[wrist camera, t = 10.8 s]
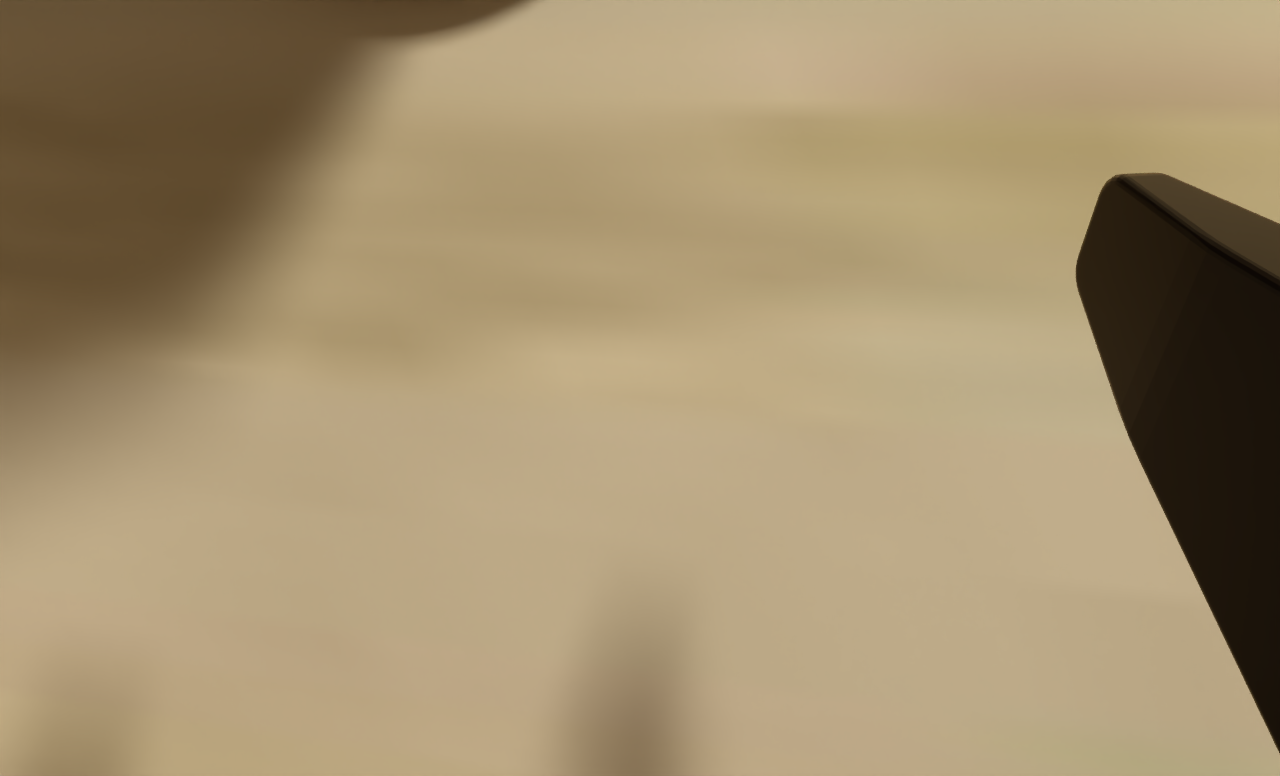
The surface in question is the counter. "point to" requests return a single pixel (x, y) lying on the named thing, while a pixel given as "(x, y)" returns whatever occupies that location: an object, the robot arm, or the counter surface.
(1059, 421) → the counter surface
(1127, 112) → the counter surface
